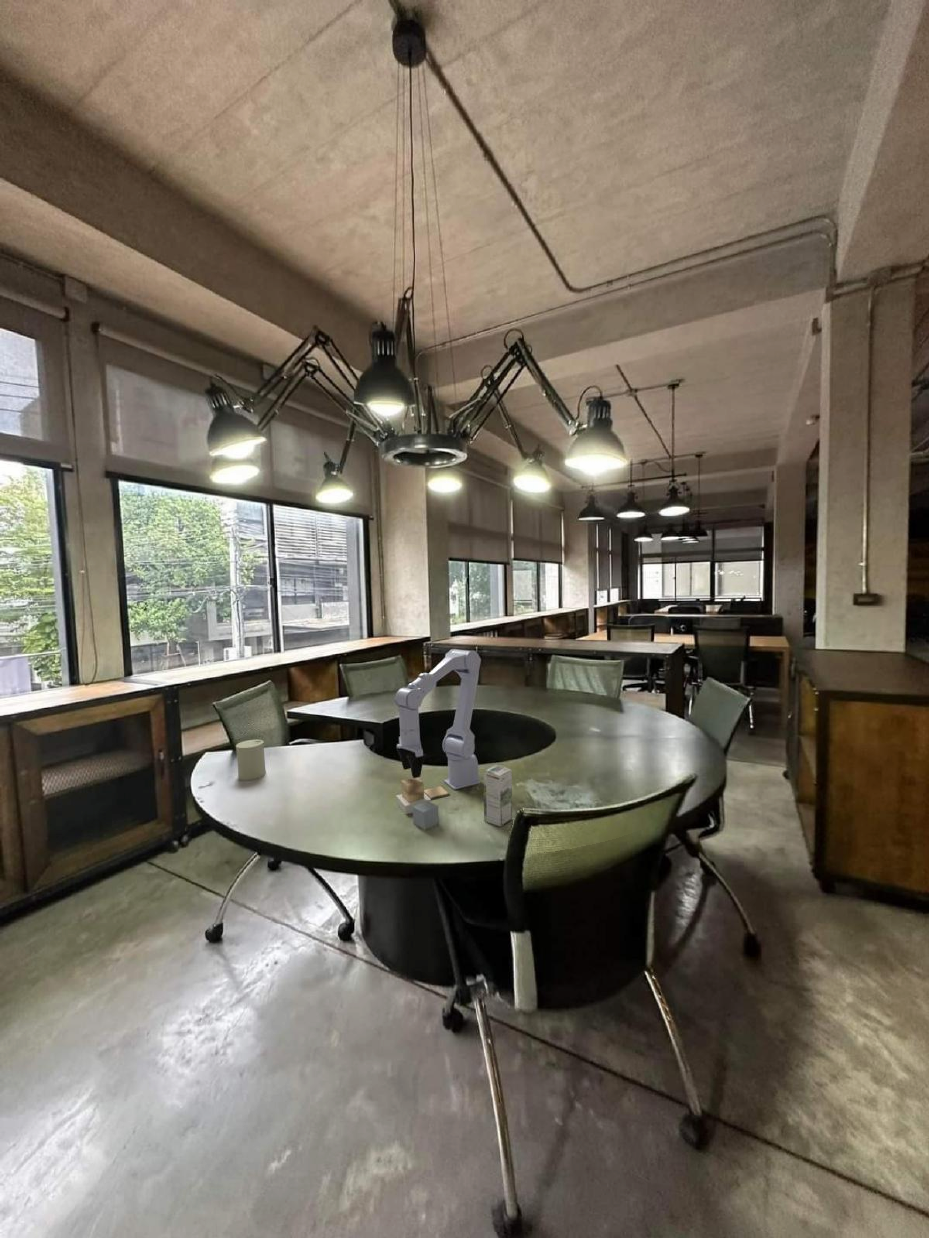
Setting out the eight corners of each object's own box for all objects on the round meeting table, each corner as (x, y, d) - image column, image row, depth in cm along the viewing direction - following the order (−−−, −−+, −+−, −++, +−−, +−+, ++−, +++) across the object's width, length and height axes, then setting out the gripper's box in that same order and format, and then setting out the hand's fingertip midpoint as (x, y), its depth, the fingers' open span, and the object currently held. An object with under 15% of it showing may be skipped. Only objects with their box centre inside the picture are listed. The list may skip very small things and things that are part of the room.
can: (270, 774, 176) (268, 741, 175) (244, 782, 169) (242, 748, 168) (259, 767, 182) (257, 736, 181) (233, 775, 176) (231, 742, 175)
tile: (441, 787, 160) (441, 785, 160) (450, 795, 154) (450, 793, 154) (421, 792, 157) (421, 790, 157) (430, 800, 151) (430, 798, 150)
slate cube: (427, 817, 140) (427, 800, 139) (438, 823, 136) (438, 806, 136) (413, 823, 137) (412, 806, 136) (424, 830, 133) (423, 812, 132)
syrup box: (496, 813, 141) (494, 764, 139) (513, 819, 137) (511, 768, 136) (483, 821, 136) (482, 770, 135) (501, 827, 132) (499, 775, 131)
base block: (421, 798, 153) (420, 789, 153) (431, 809, 146) (430, 799, 145) (396, 805, 149) (396, 795, 149) (405, 815, 142) (405, 805, 142)
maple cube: (417, 792, 151) (416, 776, 150) (424, 798, 146) (423, 781, 146) (402, 796, 148) (401, 780, 148) (408, 802, 144) (407, 786, 143)
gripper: (388, 724, 150) (390, 767, 152) (405, 737, 138) (407, 784, 139) (410, 720, 154) (412, 763, 155) (428, 732, 141) (430, 778, 142)
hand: (411, 772), depth 147 cm, fingers open, 7 cm apart
